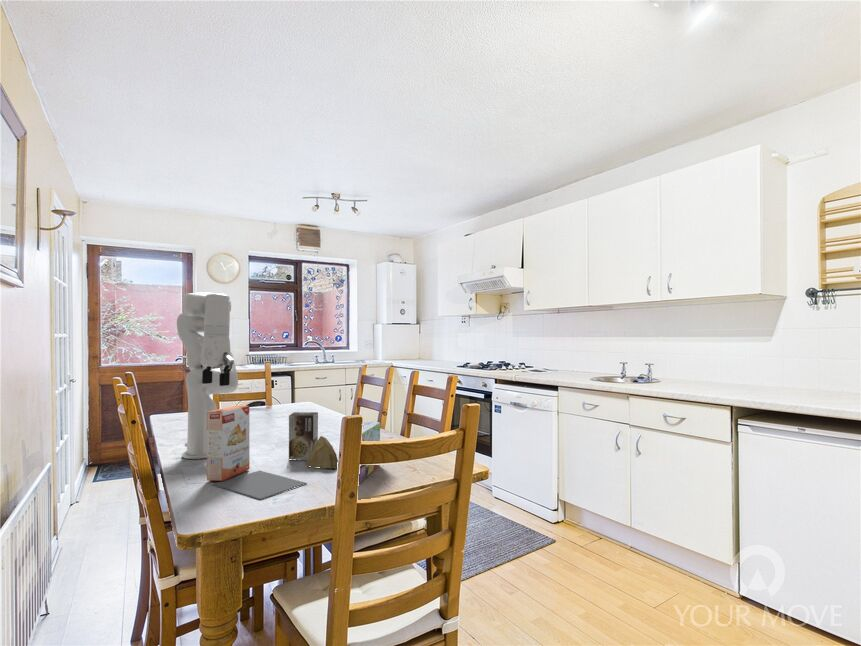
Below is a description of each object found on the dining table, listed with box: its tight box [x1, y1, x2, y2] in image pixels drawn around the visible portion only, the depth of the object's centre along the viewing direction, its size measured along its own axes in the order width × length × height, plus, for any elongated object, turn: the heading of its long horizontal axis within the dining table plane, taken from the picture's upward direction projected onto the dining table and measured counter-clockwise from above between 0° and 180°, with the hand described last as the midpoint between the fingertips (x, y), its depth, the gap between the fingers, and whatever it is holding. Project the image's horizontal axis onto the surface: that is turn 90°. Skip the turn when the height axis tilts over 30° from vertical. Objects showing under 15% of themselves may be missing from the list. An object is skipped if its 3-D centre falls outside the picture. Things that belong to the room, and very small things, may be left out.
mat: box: [212, 470, 307, 501], centre depth 135 cm, size 22×16×1 cm
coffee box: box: [288, 411, 319, 461], centre depth 164 cm, size 9×6×16 cm
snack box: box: [359, 421, 381, 484], centre depth 146 cm, size 21×6×15 cm, turn 170°
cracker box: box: [206, 405, 251, 482], centre depth 144 cm, size 14×6×21 cm, turn 168°
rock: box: [305, 435, 339, 470], centre depth 153 cm, size 11×9×10 cm
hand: (215, 384), depth 149 cm, fingers open, 9 cm apart
